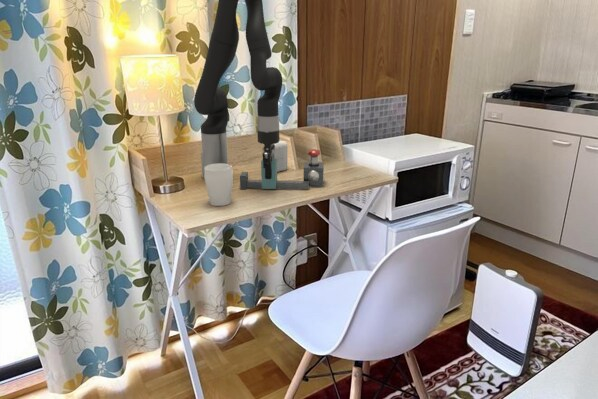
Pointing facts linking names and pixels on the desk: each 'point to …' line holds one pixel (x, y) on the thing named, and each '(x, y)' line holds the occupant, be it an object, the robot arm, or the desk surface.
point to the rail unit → (311, 178)
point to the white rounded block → (281, 155)
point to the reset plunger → (313, 157)
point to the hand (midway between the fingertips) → (269, 176)
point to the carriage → (272, 182)
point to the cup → (219, 183)
